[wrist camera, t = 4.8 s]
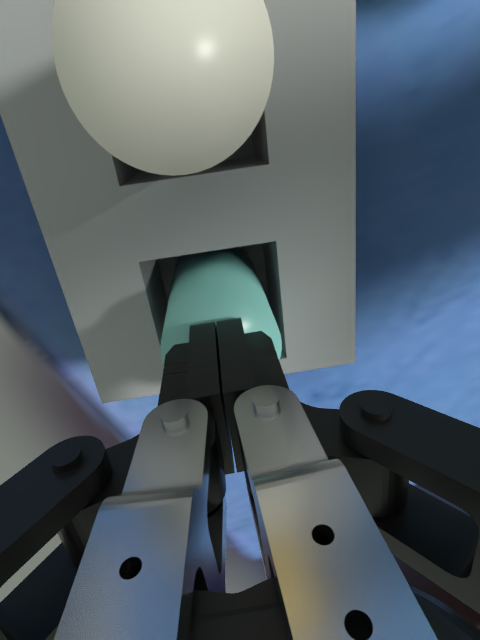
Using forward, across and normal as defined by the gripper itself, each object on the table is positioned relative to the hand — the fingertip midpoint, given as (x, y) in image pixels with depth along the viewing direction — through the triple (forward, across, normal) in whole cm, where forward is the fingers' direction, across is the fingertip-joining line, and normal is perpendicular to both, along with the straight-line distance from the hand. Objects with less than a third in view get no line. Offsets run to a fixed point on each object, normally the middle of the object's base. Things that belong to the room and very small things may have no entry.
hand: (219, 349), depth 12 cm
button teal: (+6, 0, 0) cm, 6 cm away
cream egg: (+4, 0, -7) cm, 8 cm away
